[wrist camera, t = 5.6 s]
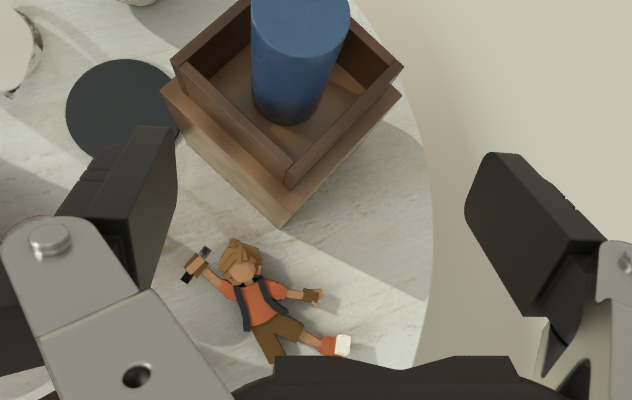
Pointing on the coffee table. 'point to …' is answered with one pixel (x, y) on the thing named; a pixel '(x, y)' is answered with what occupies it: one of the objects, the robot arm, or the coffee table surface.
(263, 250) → the coffee table surface
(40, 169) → the coffee table surface
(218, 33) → the bin
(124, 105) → the coaster
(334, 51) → the blue tin
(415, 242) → the coffee table surface
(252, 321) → the character figurine
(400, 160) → the coffee table surface
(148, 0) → the teacup
